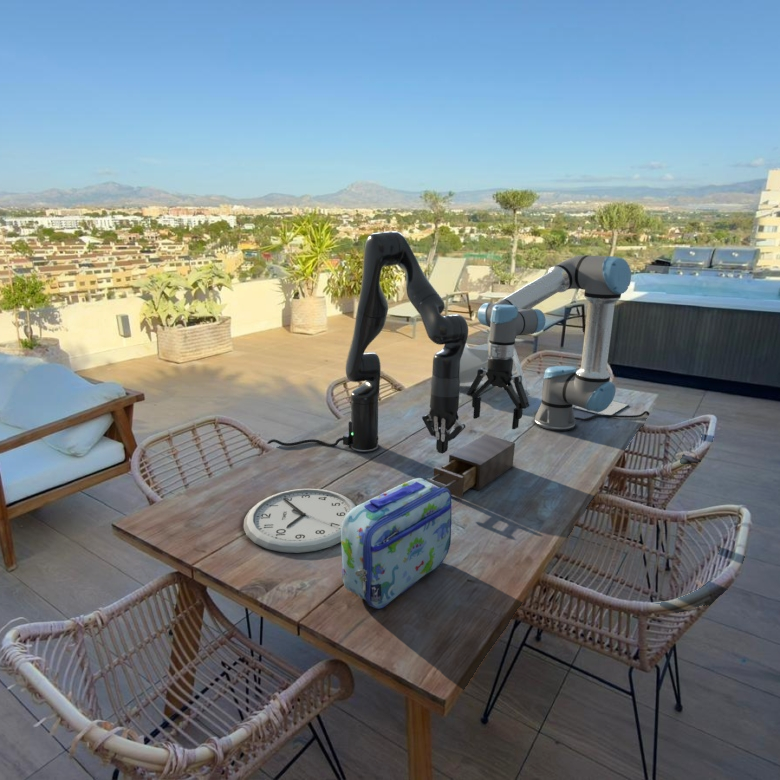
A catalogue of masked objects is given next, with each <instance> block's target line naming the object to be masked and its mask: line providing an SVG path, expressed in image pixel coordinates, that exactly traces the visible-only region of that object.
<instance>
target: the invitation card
mask: <svg viewBox="0 0 780 780" xmlns="http://www.w3.org/2000/svg"><path fill="white" fill-rule="evenodd" d="M628 406H629V404H627V403H623V402H618V401H614V400H612V402H611V404H610V405H609V406H608V407H607V408H606V409H605V410H603V411H601V412H594V411H591V410H590V411H589V410H587V409H584V408H581V407H578V406H574V407H573V409H575V410H581V411H584V412H587V413H593V414H595V415H615V414H616V413H617V412H619V411H621V410H623V409H624V408H626V407H628Z"/></svg>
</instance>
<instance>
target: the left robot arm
mask: <svg viewBox="0 0 780 780" xmlns="http://www.w3.org/2000/svg"><path fill="white" fill-rule="evenodd" d="M363 249H364V250H363V263H362V275H361V276H362V277H361V284H360V292H359V297H358V302H357V307H356V312H355V319H354V320H355V321H354V326H353V333H352V339H351V342H350V346H349V349H348V353H347V358H346V360H345V376H346V379H347V380H348V381H349V382H352V383H360V382H364V383H363V384H362V385H360V386H359V387H357V388H355V389H353V390H352V391H351V392H350V420H349V421H348V432H347V433H345V434H344V435H343V436H342V437H338V438H337V439H336V440H335V441H334V442H333V443H328V442H325V441H323V440H320V439H313V438H312V439H304V440H298V441H294V442H282V441H280V440H278V439H275V438H273V439H269V440H268V441H267V442H266V444H268V445H269V444H272V443H275V444H278V445H280V446H283V447H284V446H285V447H292V446H298V445H302V444H306V443H317V444H319V445H320V444H321V445H323V446H326V447H336V446H338V444H339V442H342V445H344V446H348V449H351V450H352V451H353V452H354V451H355V452H358V453H373V452H374V451H376V450H378V449H379V395H380V387H381V386H380V384H381V372H382V371H381V368H382V367H381V366H382V365H381V360H380V357H379V355H378V354H377V353H376V352H365V351H366V349H367V348H368V347H369V346H370V344H371V343H372V342H373V341H374V340H375V339H376V338H377V337H378V336H379V335H380V334H381V332H382V331H383V330H384V327H385V325H386V322H387V317H388V312H389V302H388V299H387V297H386V295H385V293H384V290H383V289H382V287H381V273H382V270H383V268H385V267H394V266H397V267H399V268H400V269H401V270H402V271H403V273H404V276H405V292H406V296H407V298H408V300H409V301H410V304H411V305H412V306H413V308H414V309H415V311H416V312H417V313H418V314H419V315H420V318H421V322H422V324H423V326H424V330H425V333H426V335H427V337H428V339H429V340H430V341H431V342H433V343H434V344H436V345H438V346H439V345H440V346H441V345H443V347H442V349H440V350H439V351H437V352H436V353H434V354H433V357H432V370H431V371H432V373H431V380H430V393H429V394H430V396H429V398H430V399H429V408H430V409H429V411H428V413H427V414H424V415H423V416H422V417H421V419H422V421H423V423H424V426H425V427H426V429H427V430H428V433H429V435H430V436H432V437H434V438H435V439H436V441H435V444H436V445H435V449H436V452H437V453H438V454H444V453H446V452H447V451H448V450H449V442H450V441H452V440H454V439H456V438H457V437H458V436H459V434H461V433H462V432H463V430H464V429H466V424H465V423H462V422H461V421H460V420H459V419H460V417H459V414H458V411H459V406H460V405H459V404H460V393H461V392H460V387H461V383H460V380H459V372H460V359H461V357H462V354H463V351H464V348H465V344H467V341H468V337H469V325H468V322H467V320H466V319H465V317H464V316H462V315H460V314H449V315H442V314H443V312H444V311H445V307H446V305H445V304H446V303H445V301H444V299H443V298H442V297H441V295H440V294H439V292H438V291H437V290H436V289H435V288H434V287H433V285H432V283H430V281H429V280H428V278H427V276H426V275H425V273H424V271H423V269H422V267H421V265H420V264H419V261H418V259H417V257H416V255H415V253H414V251H413V249H412V247H411V246H410V244H409V242H408V239H406V237H405V236H404V235H403V234H402V233H401V232H398V231H383V232H382V231H381V232H375V233H371V234H369V235H368V237H367V238H366V241H365V243H364V248H363Z"/></svg>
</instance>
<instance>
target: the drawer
mask: <svg viewBox="0 0 780 780" xmlns="http://www.w3.org/2000/svg"><path fill="white" fill-rule="evenodd" d="M425 480H426V481H428V482H430V483H432V484H434V485H435V486H437V487H439V488H442V487H444V488H447V489H448V490H449V491H450V494H451V496H455V497H457V498H459V499H462V498H463V497H464V493H465V492H467V491H468V490H469V489H472V488H471V487H472V486H473V485H475V484H476V481H477V467H476V466H473V465H470V464H467V463H464V462H461V461H458V460H455V459H454V460H452V461H450V462H449V461H448V462H447V463H445V464H444V465H442V466H441V467H439V466H435V467H433V476H432V477H431V478H426V479H425Z"/></svg>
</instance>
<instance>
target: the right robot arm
mask: <svg viewBox="0 0 780 780" xmlns="http://www.w3.org/2000/svg"><path fill="white" fill-rule="evenodd" d="M631 281H632V271H631V267H630V264H629V263H628V261H627V260H626V259H624V258H622V257H617V256H611V255H609V256H608V255H590V254H580V255H576V256H573V257H570V258H568V259H565V260H563V261H561V262H559V263H557V264H555V265H554V266H552V267H550V268H549V269H548V270H547V273H546V274H544V275H542V276H540V277H539V278H537V279H534V281H532V282H530V283H528V284H526V285H524V286H522V287H521V288H519V289H518V290H516V291H515V292H513V293H510V294H509V295H508V296H506V297H504V298H503V299H500V300H499V301H497V302H495V303H493V302H484V303H483V304H482V305H480V307H479V308H478V311H477V319H478V322H479V323H480V324H481V325H482V326H486V327H488V328H489V341H488V344H489V352H488V355H489V357H488V364H487V368H488V370H485V369H484V368H481V369H479V370H478V372H477V376H476V378H475V380H474V382H471V384H470V386H469V389H468V390H467V392H466V395H467V396H470V397H471V398H472V399H471V408H473V418H472V419H474V420H477V419H478V418H480V417H481V403H482V401H481V400H482V397H480V396H481V395H482V394H483V393H484V392H485V391H486V390H487V389H488V388H489V387H490V386H492V387H497V388H499V389H502V388H503V390H504V391H506V393H507V395H508V396H509V398H510V400H511V402H512V404H514V406H515V408H513V413H512V423H511V424H512V425H511V430H516V429H517V428H519V425H520V420H521V419H522V418H523V410H524V409H527V408H528V407H530V402H529V399H528V396H526V393H525V390H524V388H523V385H522V376H521V375H519V376H518V375H513V367H514V360H513V358H512V357H513V356H514V348H515V344H516V337H519V336H526V335H534V334H537V333H541V331H542V330H544V328H545V326H546V319H547V318H546V316H545V314H544V312H543V311H542V310H541V309H538V308H534V307H536V306H537V305H539V304H541V303H542V302H545V301H546V300H547V299H549V298H551V297H553V296H554V295H556V294H557V293H565V292H566V291H569V290H576V289H578V290H583V291H584V295H583V296H584V298H585V299H586V300H587V310H586V318H585V326H584V327H585V328H584V335H583V345H582V354H581V363H580V367H579V368H577V367H575V366H571V365H570V366H569V365H557V366H556V365H555V366H550V367H547V368H546V369H545V371H544V375H543V378H542V379H543V381H542V394H541V402H540V405H539V407H538V410H537V411H534V412H533V416H534V424H535V425H536V426H537V427H539V428H542V429H544V430H549V431H556V432H567V431H572V430H574V429H575V428H576V420H577V421H584V422H585V421H590V420H592V419H595V418H599V417H600V418H602V417H604V418H621V419H623V418H624V419H625V418H626V419H627V418H628V419H629V418H630V419H631V418H640V417H643V416H644V415H650V412H649V411H648V410H645V411H643V412H641V413H640V414H635V415H634V414H633V415H628V414H627V415H625V414H624V415H622V414H621V415H619V414H616V415H615V414H613V415H600V414H594V415H591V416H589V417H586V418H584V417H577V416H575V413H574V407H576V406H578V407H581V408H584V409H587V410H589V411H590V410H591V411H594V412H601V411H603V410H605V409H606V408H607V407H608V406H609V405H610V404H611V402H612V401H614V398H615V395H616V392H617V391H616V389H617V388H616V385H615V383H614V382H612V381H611V380H610V379H611V373H610V372H609V371H608V370H607V368H608V361H609V354H610V345H611V337H612V329H613V322H614V314H615V307H616V303H617V301H619V300H620V299H621V297H622V294H624V293H626V292H627V290H628V289H629V287H630V285H631ZM485 375H486V376H485ZM484 376H485V377H486V379H487V380H486V381H484V383H483V384H482V385H481V386H480V387H479V385H480V383H481V382H482V381H483V380H482V378H483V379H484V378H485V377H484ZM481 380H482V381H481ZM511 380H512V381H513V385H514V388H515V390H514V388H513V385H512V384H511V382H510V381H511ZM478 387H479V388H478ZM515 391H516V392H515ZM573 406H574V407H573Z"/></svg>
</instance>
